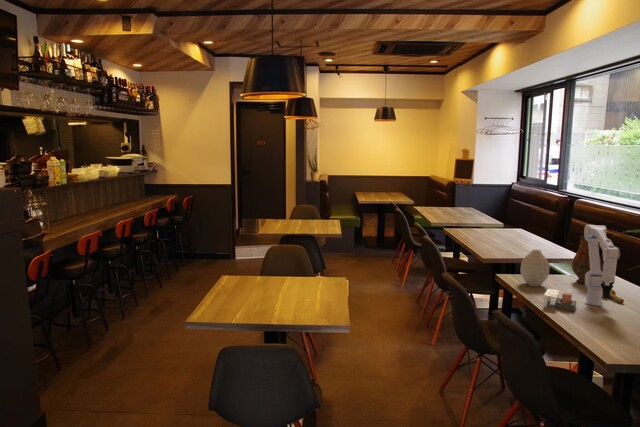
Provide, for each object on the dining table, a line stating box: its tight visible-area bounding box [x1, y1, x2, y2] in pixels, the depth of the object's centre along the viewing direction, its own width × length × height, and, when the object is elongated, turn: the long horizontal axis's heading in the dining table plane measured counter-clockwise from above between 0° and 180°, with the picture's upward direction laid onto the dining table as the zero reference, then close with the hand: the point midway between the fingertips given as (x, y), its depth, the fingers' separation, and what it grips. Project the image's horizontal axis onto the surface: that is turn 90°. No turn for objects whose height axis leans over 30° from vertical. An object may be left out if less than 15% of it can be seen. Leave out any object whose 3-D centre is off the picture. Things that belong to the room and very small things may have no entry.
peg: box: [561, 291, 573, 304], centre depth 255 cm, size 4×4×8 cm
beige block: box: [543, 288, 561, 309], centre depth 259 cm, size 14×6×7 cm, turn 146°
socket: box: [554, 297, 577, 313], centre depth 256 cm, size 9×9×4 cm
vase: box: [520, 248, 550, 288], centre depth 295 cm, size 16×16×22 cm
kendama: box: [602, 289, 625, 305], centre depth 273 cm, size 8×6×18 cm
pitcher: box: [571, 235, 603, 286], centre depth 300 cm, size 17×21×30 cm
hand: (606, 295), depth 248 cm, fingers open, 7 cm apart
